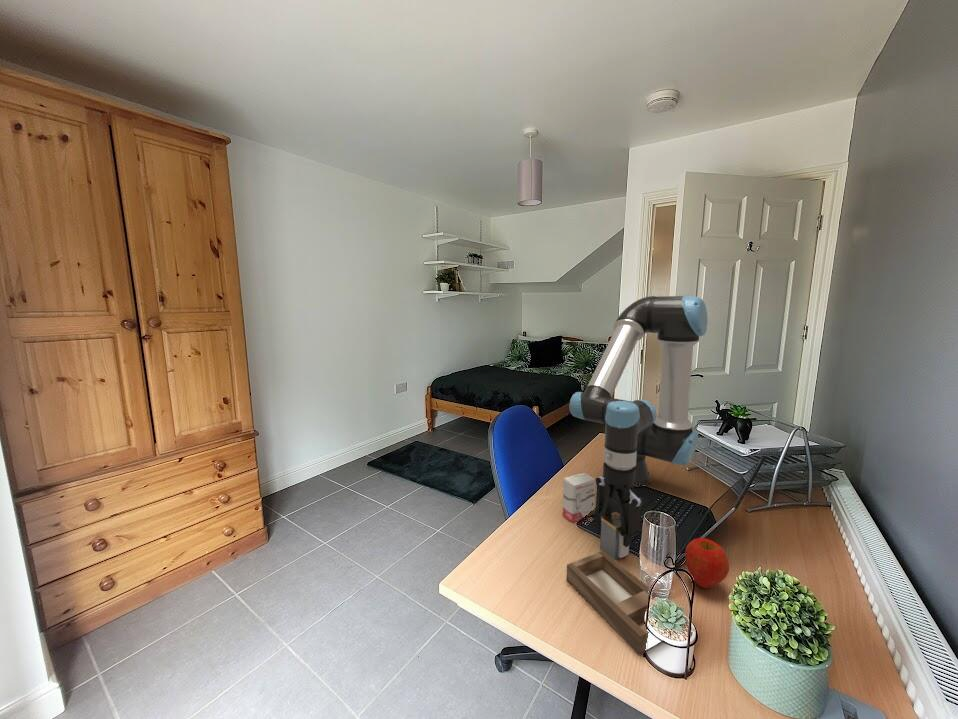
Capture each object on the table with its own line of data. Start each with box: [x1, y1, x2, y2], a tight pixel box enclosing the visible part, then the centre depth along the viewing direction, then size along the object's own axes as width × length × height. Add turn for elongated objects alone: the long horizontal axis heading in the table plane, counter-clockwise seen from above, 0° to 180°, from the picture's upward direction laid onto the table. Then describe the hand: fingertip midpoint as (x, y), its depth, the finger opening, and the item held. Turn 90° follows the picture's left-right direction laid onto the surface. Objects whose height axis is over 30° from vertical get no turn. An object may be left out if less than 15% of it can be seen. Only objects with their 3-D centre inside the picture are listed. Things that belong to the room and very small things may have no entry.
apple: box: [684, 537, 730, 589], centre depth 86 cm, size 9×8×11 cm
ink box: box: [562, 472, 596, 523], centre depth 114 cm, size 9×5×12 cm, turn 116°
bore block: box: [565, 550, 662, 656], centre depth 82 cm, size 11×21×4 cm, turn 26°
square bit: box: [599, 511, 631, 561], centre depth 98 cm, size 5×5×9 cm
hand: (614, 548), depth 99 cm, fingers closed on square bit, 5 cm apart
